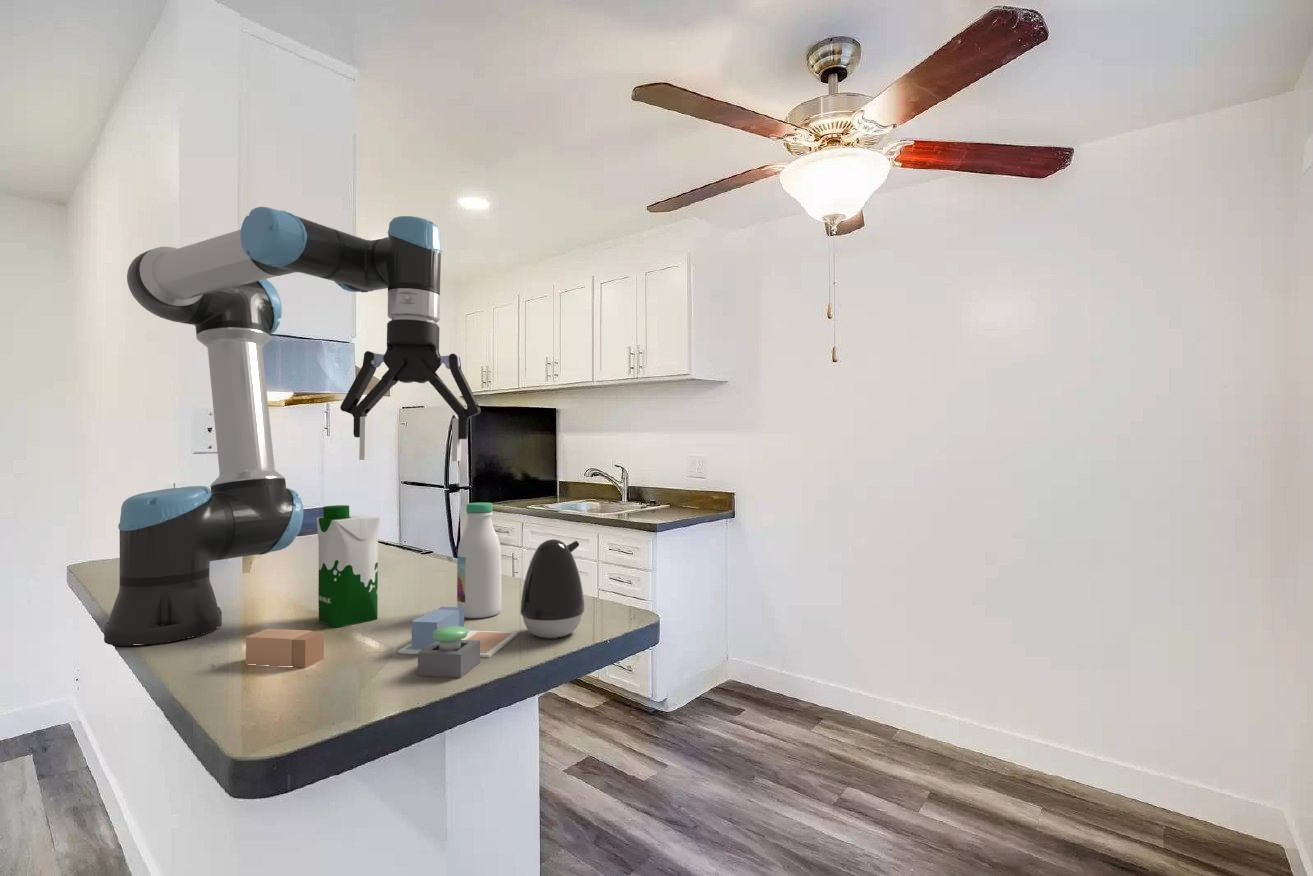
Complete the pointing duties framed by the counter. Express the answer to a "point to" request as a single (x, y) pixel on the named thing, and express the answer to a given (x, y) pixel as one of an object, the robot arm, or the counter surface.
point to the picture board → (488, 640)
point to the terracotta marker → (285, 648)
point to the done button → (449, 637)
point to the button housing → (448, 660)
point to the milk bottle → (479, 564)
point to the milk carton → (347, 566)
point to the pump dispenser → (552, 591)
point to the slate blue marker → (434, 624)
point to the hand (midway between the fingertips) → (411, 460)
